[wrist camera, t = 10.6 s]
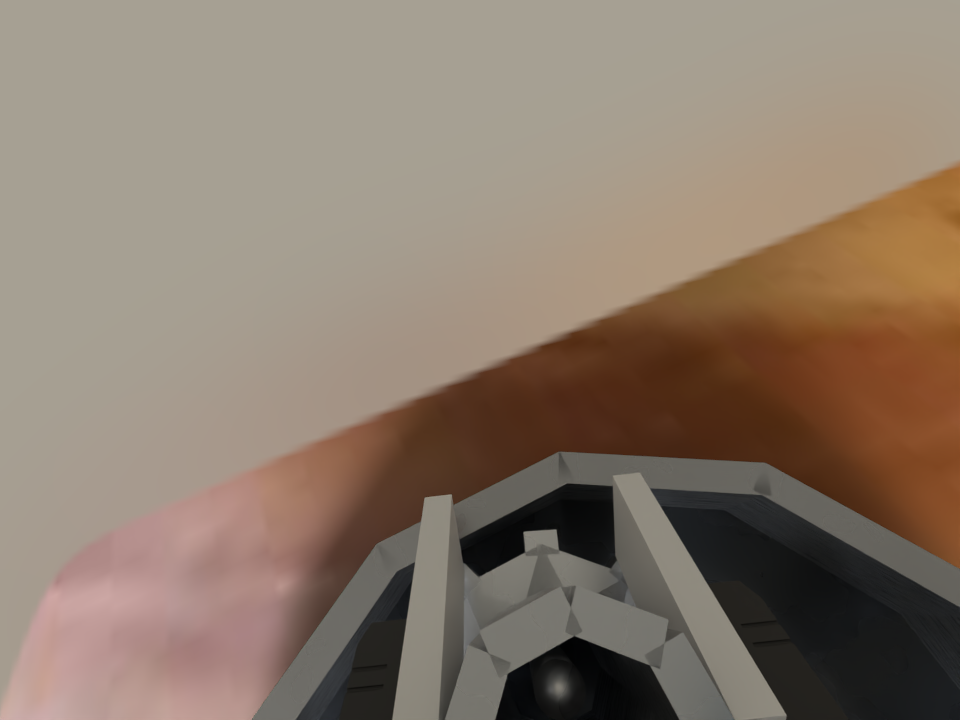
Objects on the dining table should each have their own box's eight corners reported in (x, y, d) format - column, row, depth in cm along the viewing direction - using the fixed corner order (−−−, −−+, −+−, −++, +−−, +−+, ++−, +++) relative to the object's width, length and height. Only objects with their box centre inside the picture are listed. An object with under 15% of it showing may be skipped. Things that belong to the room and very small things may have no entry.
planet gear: (592, 502, 17) (659, 418, 9) (731, 743, 14) (1026, 950, 6) (395, 605, 16) (270, 618, 8) (496, 890, 13) (460, 1384, 5)
